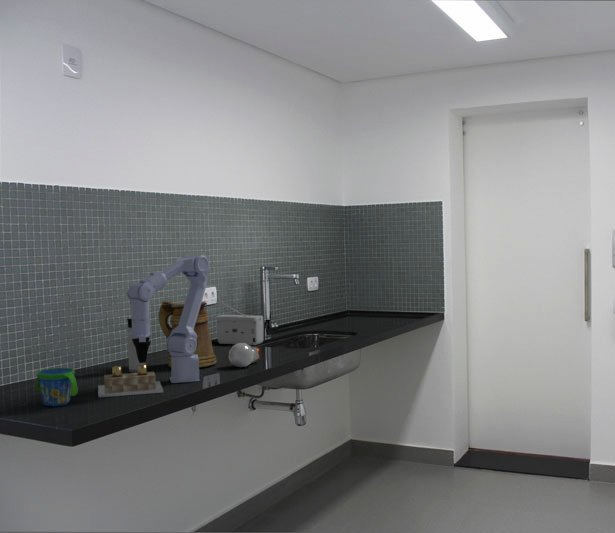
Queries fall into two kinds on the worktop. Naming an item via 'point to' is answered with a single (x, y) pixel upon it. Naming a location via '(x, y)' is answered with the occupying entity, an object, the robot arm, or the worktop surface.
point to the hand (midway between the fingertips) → (141, 361)
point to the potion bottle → (243, 354)
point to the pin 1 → (116, 371)
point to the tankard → (200, 328)
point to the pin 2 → (142, 370)
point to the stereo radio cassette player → (240, 329)
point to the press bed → (129, 391)
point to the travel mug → (132, 351)
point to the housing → (130, 381)
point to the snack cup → (56, 386)
